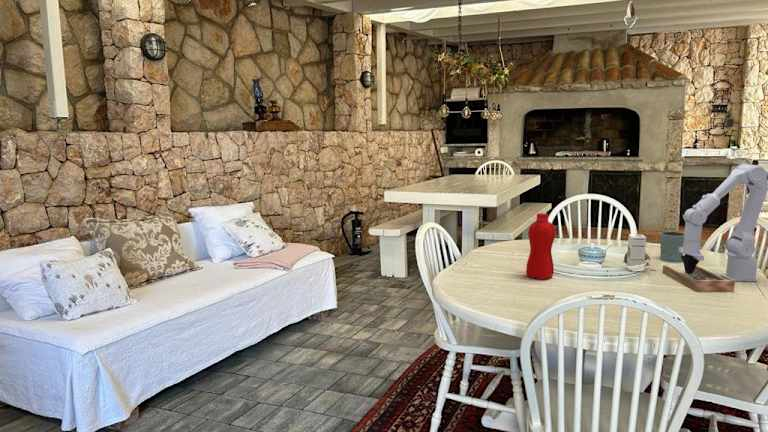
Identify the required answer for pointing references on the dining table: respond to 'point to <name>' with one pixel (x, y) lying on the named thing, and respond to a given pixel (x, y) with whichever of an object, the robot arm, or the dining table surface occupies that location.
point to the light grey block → (645, 257)
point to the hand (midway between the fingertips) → (688, 274)
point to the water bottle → (540, 248)
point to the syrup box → (636, 249)
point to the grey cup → (671, 246)
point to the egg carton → (698, 277)
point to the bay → (701, 285)
